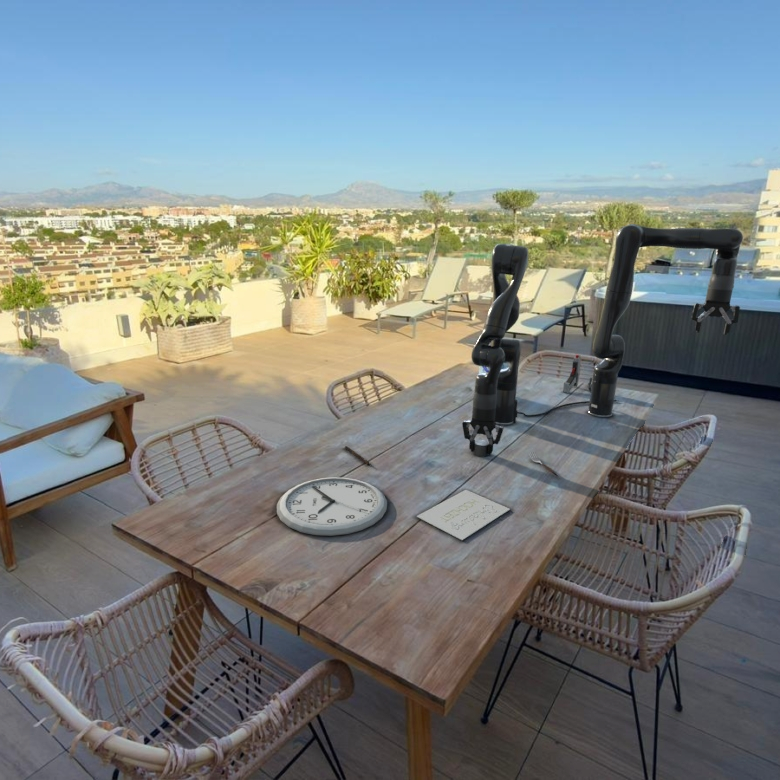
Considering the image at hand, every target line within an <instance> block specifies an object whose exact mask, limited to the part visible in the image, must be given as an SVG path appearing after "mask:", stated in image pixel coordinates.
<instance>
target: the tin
mask: <svg viewBox="0 0 780 780" xmlns="http://www.w3.org/2000/svg"><path fill="white" fill-rule="evenodd" d="M488 444H489V442H488V440H483V439H478V440H475V445H474V451H473V454H474V456H476V457H482V458H485V457H488V456H489V455H488Z"/></svg>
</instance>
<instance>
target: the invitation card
mask: <svg viewBox="0 0 780 780" xmlns="http://www.w3.org/2000/svg"><path fill="white" fill-rule="evenodd" d="M510 510H511V508H509V507H507V506H504V505H503V504H500V503H498V502H496V501H493V500H492V499H491V500H490V499H488V498H487V497H484V496H481V495H479V494H477V493H474V492H472V491H470V490H468V489H464V490H462V491H460V492H458V493H456V494H455V495H453V496H451V497H449V498H447V499H446V500H443V501H441V502H440V503H438V504H437V505H434V506H433V507H430V508H429V509H427V510H425V511H423V512H422V513H420V514H418V515H416V518H418V519H420V520H421V521H423V522H426V523H427V524H428V525H429V524H430V525H431V526H433V527H435V528H437V529H439V530H440V531H442V532H445V533H446V534H448V535H450V536H453V537H454V538H456V539H457V540H460V541H463V540H465V539H467V538H468V537H470V536H472V535H473V534H474V533H476V532H478V531H480V530H481V529H482V528H484V527H485V526H487V525H488V524H490V523H492V522H493V521H495V520H496V519H498V518H499V517H501V516H503V515H504V514H506V513H507V512H509V511H510Z"/></svg>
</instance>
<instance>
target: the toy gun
mask: <svg viewBox="0 0 780 780" xmlns="http://www.w3.org/2000/svg"><path fill="white" fill-rule="evenodd" d="M581 357H582V356H581V354H575V355H574V357H573V361H572V367H571V372H570V374H569V376H568V378H567V380H566V381H565V382H564V383H563V388H562V391H563V393H565V394H569V393H570V392H571V390H573V387H574V388H577V387H578V385H579V379H580V375H581V374H580V373H581V364H582V363H581V362H582V358H581Z"/></svg>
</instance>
